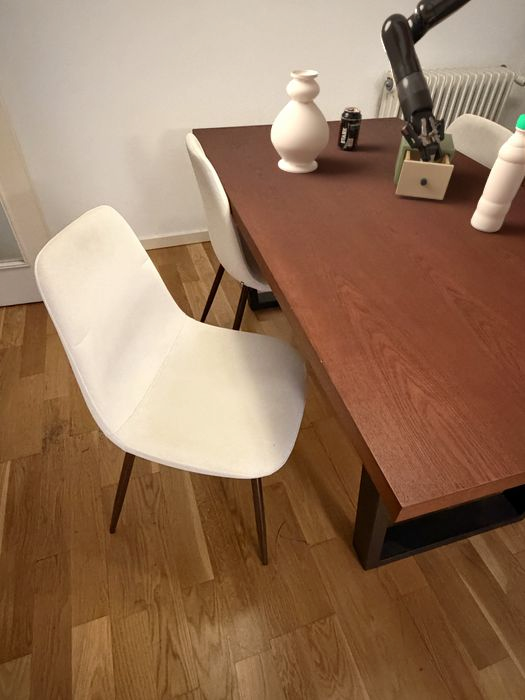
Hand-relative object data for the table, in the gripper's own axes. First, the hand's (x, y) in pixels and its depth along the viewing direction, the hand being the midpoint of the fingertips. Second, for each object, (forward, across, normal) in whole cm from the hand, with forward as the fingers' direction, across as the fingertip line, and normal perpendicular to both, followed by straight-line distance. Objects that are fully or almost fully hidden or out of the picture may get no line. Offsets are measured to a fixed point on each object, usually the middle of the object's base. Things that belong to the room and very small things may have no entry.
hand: (433, 160), depth 107 cm
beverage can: (-22, +3, +36) cm, 42 cm away
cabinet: (0, +7, +14) cm, 16 cm away
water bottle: (+22, +1, -8) cm, 23 cm away
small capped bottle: (+1, 0, +4) cm, 4 cm away
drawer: (+4, 0, +8) cm, 9 cm away
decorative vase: (-17, -21, +31) cm, 41 cm away
